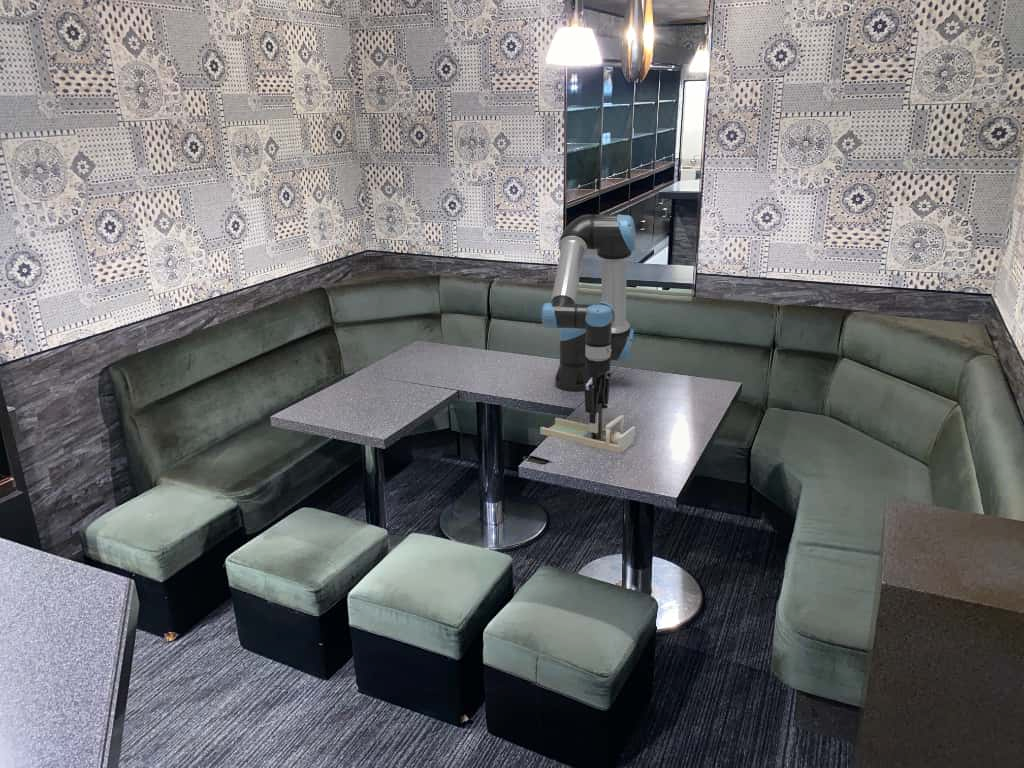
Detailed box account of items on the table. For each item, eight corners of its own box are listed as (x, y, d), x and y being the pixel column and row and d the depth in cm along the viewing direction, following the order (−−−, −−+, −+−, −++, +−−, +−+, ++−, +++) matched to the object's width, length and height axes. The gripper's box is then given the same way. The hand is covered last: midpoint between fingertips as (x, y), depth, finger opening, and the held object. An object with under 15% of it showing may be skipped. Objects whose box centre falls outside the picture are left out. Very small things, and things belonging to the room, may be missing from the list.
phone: (521, 457, 232) (546, 439, 244) (521, 460, 233) (546, 442, 244) (544, 462, 228) (568, 444, 240) (544, 466, 229) (568, 447, 241)
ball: (620, 447, 235) (608, 446, 237) (626, 443, 238) (614, 442, 241) (618, 435, 234) (607, 434, 236) (624, 430, 237) (613, 430, 240)
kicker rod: (580, 440, 241) (581, 404, 237) (591, 433, 246) (591, 397, 242) (605, 446, 236) (606, 409, 232) (615, 439, 242) (616, 402, 237)
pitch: (540, 437, 247) (539, 410, 244) (556, 426, 255) (556, 400, 252) (620, 457, 232) (620, 429, 229) (634, 445, 240) (636, 418, 237)
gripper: (596, 367, 224) (594, 441, 232) (621, 352, 237) (619, 423, 245) (573, 362, 228) (572, 436, 236) (599, 348, 241) (597, 419, 249)
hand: (596, 429), depth 241 cm, fingers closed on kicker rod, 3 cm apart
